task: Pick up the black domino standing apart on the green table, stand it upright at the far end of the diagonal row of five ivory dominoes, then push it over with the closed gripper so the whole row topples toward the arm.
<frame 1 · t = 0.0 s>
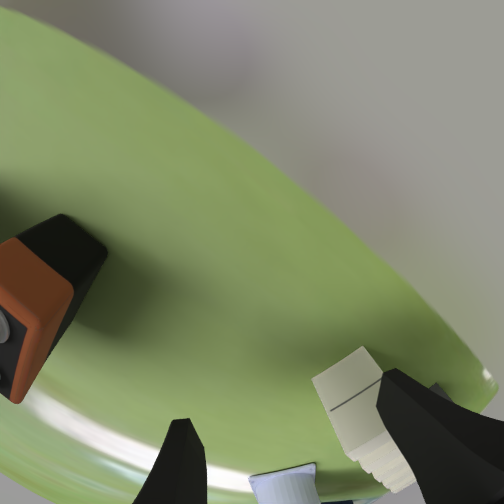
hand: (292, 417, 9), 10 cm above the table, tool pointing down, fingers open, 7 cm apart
domino 4: (368, 409, 25), on the table
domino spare: (431, 396, 27), on the table
battery: (66, 268, 17), on the table
domino 5: (378, 424, 27), on the table
domino 2: (341, 368, 22), on the table
domino 3: (356, 392, 24), on the table
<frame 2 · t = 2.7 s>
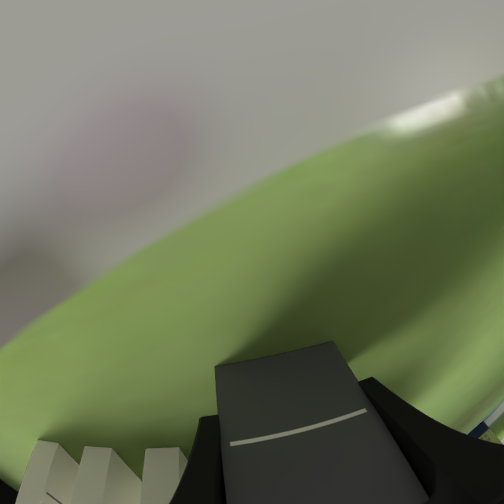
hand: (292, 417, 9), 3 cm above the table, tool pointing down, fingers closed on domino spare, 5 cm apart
protein box: (448, 462, 23), on the table
domino 4: (176, 467, 14), on the table
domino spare: (277, 372, 12), on the table, touching gripper
battery: (4, 484, 15), on the table
domino 2: (66, 461, 13), on the table
domino 3: (116, 467, 13), on the table
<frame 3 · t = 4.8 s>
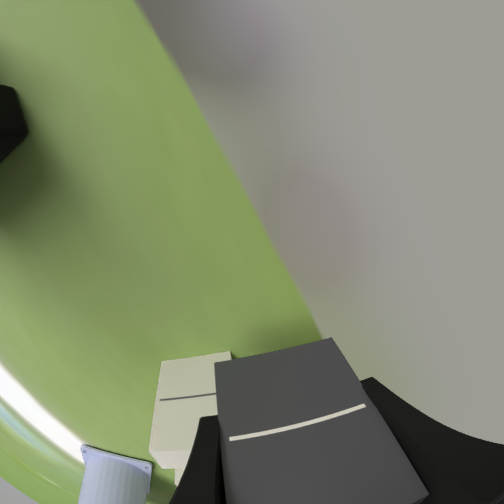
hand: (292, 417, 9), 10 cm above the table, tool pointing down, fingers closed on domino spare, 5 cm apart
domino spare: (276, 368, 12), point 7 cm above the table, touching gripper
domino 2: (198, 366, 20), on the table
when the fingers open (3 cm above the table, at t = 6.9 s): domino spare stays where it is, on the table.
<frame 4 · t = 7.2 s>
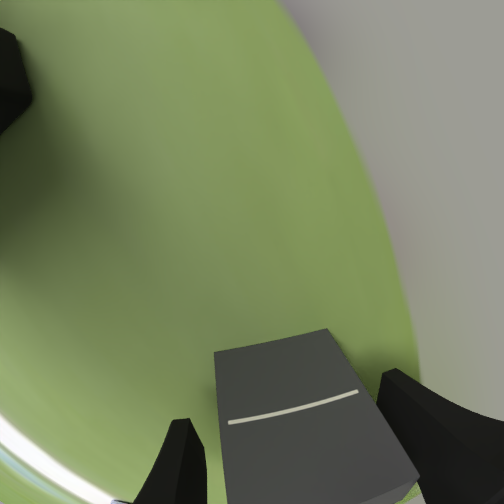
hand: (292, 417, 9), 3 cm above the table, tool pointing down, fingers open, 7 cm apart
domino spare: (273, 358, 12), on the table
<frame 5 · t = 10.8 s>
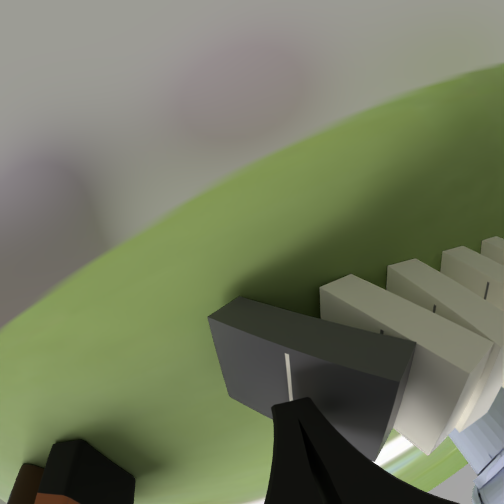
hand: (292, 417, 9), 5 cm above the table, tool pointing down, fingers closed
olive oil: (56, 483, 19), on the table
domino 4: (448, 285, 15), on the table
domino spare: (233, 350, 14), point 1 cm above the table, tilted 41°, touching domino 2
battery: (95, 459, 17), on the table
domino 5: (484, 271, 16), on the table
domino 2: (336, 323, 14), on the table, tilted 17°, touching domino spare
domino 3: (398, 302, 15), on the table
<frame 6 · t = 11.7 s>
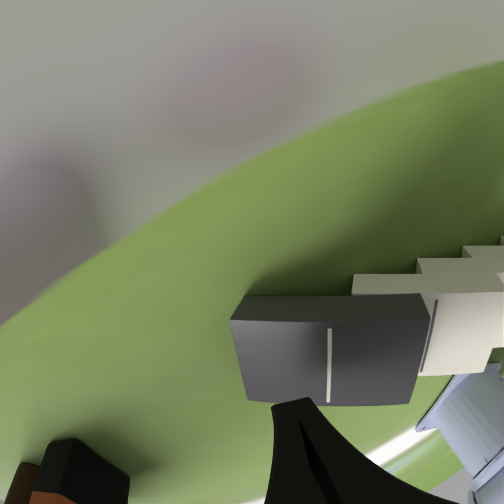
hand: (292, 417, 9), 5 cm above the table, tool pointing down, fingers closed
olive oil: (53, 483, 19), on the table
domino 4: (461, 288, 15), point 1 cm above the table, tilted 62°, touching domino 3
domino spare: (245, 351, 13), point 1 cm above the table, tilted 66°, touching domino 2
battery: (90, 459, 17), on the table
domino 2: (351, 326, 14), point 1 cm above the table, tilted 61°, touching domino 3, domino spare
domino 3: (415, 306, 14), point 1 cm above the table, tilted 61°, touching domino 2, domino 4
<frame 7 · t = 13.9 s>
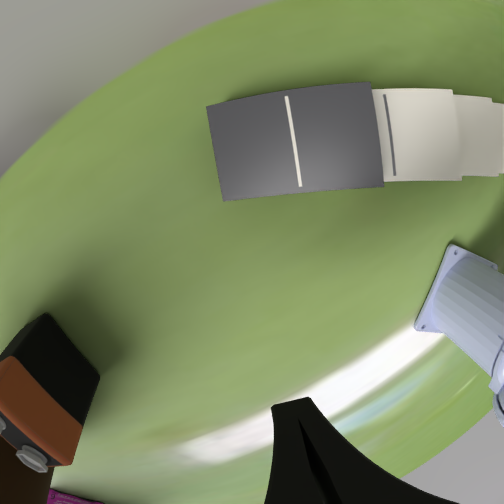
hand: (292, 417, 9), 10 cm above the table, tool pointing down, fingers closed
olive oil: (27, 410, 20), on the table
domino 4: (426, 134, 16), point 1 cm above the table, tilted 61°, touching domino 3, domino 5
candy bar box: (78, 499, 28), on the table
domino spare: (221, 152, 15), point 1 cm above the table, tilted 66°, touching domino 2
battery: (60, 351, 19), on the table
domino 2: (319, 139, 15), point 1 cm above the table, tilted 61°, touching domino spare
domino 3: (379, 135, 16), point 1 cm above the table, tilted 61°, touching domino 4
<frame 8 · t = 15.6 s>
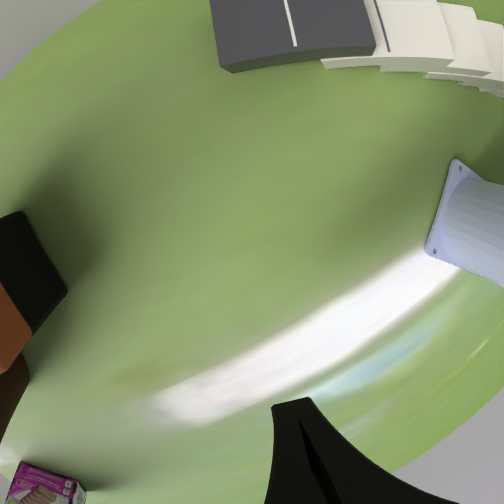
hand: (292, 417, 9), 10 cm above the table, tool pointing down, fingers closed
domino 4: (418, 45, 14), point 1 cm above the table, tilted 61°, touching domino 3, domino 5
candy bar box: (52, 475, 25), on the table
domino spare: (220, 33, 13), point 1 cm above the table, tilted 67°, touching domino 2
battery: (30, 261, 16), on the table
domino 6: (481, 64, 15), point 1 cm above the table, tilted 90°, touching domino 5
domino 2: (315, 30, 13), point 1 cm above the table, tilted 61°, touching domino 3, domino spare
domino 3: (372, 35, 14), point 1 cm above the table, tilted 61°, touching domino 2, domino 4
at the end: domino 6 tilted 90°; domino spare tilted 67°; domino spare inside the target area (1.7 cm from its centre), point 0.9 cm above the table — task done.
